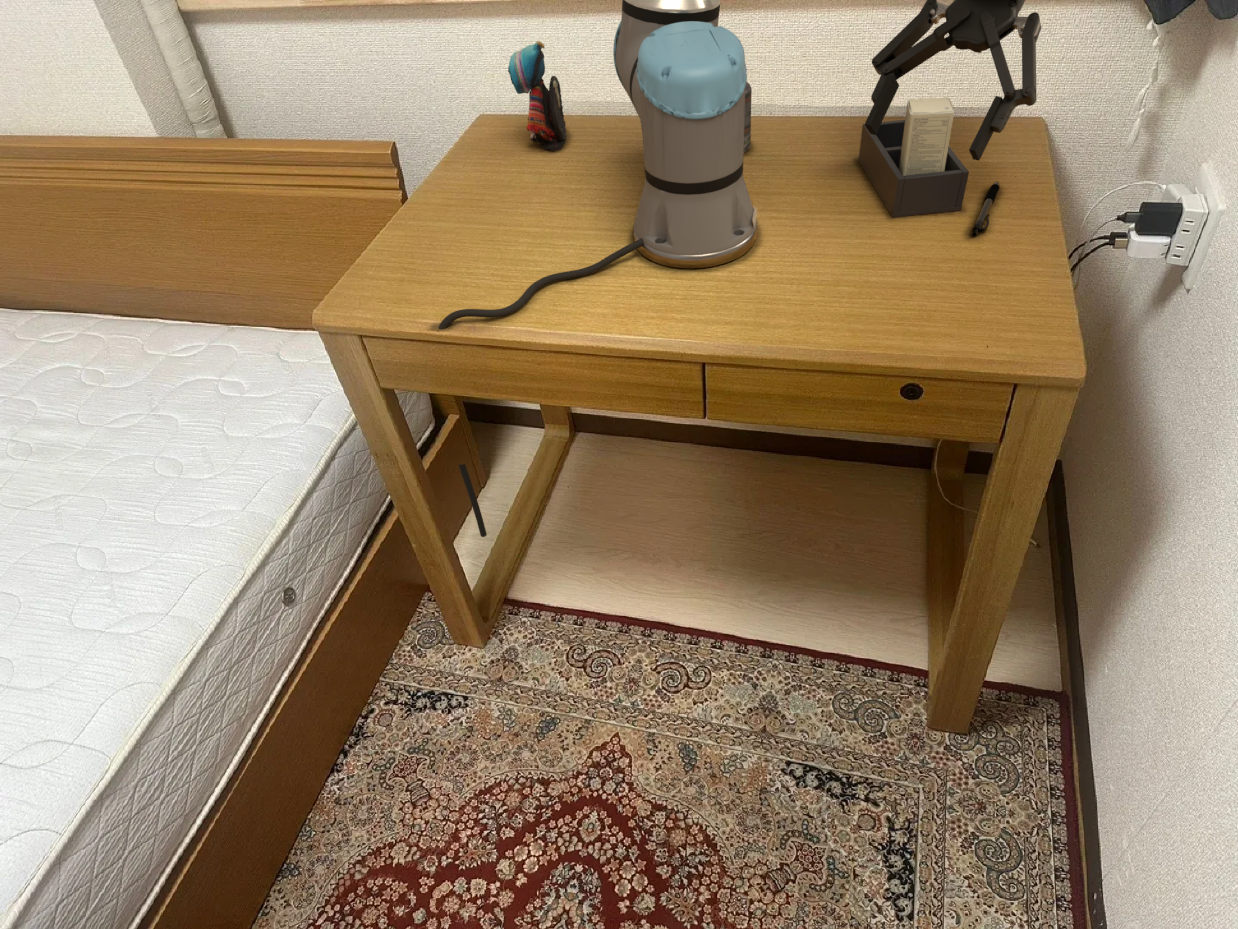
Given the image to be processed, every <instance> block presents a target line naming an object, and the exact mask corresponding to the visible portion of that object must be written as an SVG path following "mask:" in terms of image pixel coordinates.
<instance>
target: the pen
mask: <svg viewBox="0 0 1238 929" xmlns="http://www.w3.org/2000/svg"><path fill="white" fill-rule="evenodd" d="M999 191H1000V182H999V181H997V180H996V181H995V182H994V183H993V184H991V185H990V187H989V190H988V192H987V194H986V195H985V198H984V202H983V204H982V207H981V209H980V211H979V214H978V216H977V218H976V220H975V222H974V224H973V226H972V229H971V232H972V233H971V236H972V237H976V236H978V234H980V233H981V234H982V233H984V232H986V231H987V229H988V228H989V225H990V218H989V217H990V213H989V212H990V209H991V207H992V205H993V204H994V202H995V200H996V198H997V195H998V192H999ZM985 223H986V224H985ZM984 224H985V225H984ZM983 226H984V227H983Z"/></svg>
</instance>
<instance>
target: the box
mask: <svg viewBox="0 0 1238 929" xmlns="http://www.w3.org/2000/svg"><path fill="white" fill-rule="evenodd" d="M954 116H955V110H954V106H953V104H952V101H951V98H950V97H937V98H916V99H912V98H911V99H908V100H907V103H906V111H905V119H904V120H905V125H904V133H903V140H902V149H901V156H900V164H899V171H900V172H901V174H902V175H903V176H906V175H915V174H925V173H935V172H944V170H945V164H946V158H947V152H948V146H949V147H950V140H951V134H952V128H953V122H954Z"/></svg>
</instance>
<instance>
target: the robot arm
mask: <svg viewBox="0 0 1238 929" xmlns="http://www.w3.org/2000/svg"><path fill="white" fill-rule="evenodd" d="M721 1H722V0H621V18H620V22H619V23H618V26H617V28H616V31H615V35H614V39H613V64H614V69H615V74H616V75H617V78H618V80H619V82H620V83H621V86H622V87H623V90H624V91H625V92H626V94H627V96H628V98H629V100H630V102H631V104H632V105H633V107H634V110H635V111H636V114H637V116H638V118H639V120H640V125H641V126H640V127H641V134H642V137H641V138H642V151H643V166H644V167H643V168H644V185H643V189H642V192H641V196H640V200H639V204H638V207H637V211H636V215H635V218H634V223H633V238H634V239H633V240H634V241H633V242H631V243H630V244H627V245H625V246H624V247H621V248H619V249H618V250H616V251H614V252H612V253H611V254H609V255H607V256H606V257H604V258H602V259H601V260H599V261H597V262H595V263H593V264H592V265H589V266H585V267H582V268H578V269H574V270H567V271H562V272H557V273H553V274H549V275H546V276H544V277H541V278H539V279H537V280H536V281H534V282H533V283H532V284H531V285H530V286H528V287H527V289H525V291H524V292H523V293H522V295H521V296H520V297H519V298H518V299H517V300H516V301H515V302H513V303H511V304H510V305H507V306H505V307H502V308H497V309H486V308H485V309H482V308H464V309H458V310H455V311H453V312H451V313H449V314H448V315H446V316H445V317H444V318H443V319H442V320H441V322H440V323H439V325H438V328H437V329H438V330H446V329H447V328H448V327H449V326H450V325H451V324H452V323H454V322H455V321H456V320H459V319H462V318H471V317H473V318H501V317H505V316H508V315H511V314H513V313H516V312H517V311H518V310H520V309H521V308H522V307H524V306H525V305H526V304H527V303H528V302H529V300H530V299H531V297H533V295H534V294H535V293H536V292H537V291H539V290H540V289H541V288H543V287H544V286H546V285H549V284H551V283H552V284H553V283H554V282H559V281H563V280H565V281H566V280H570V279H575V278H581V277H585V276H588V275H590V274H594V273H596V272H598V271H600V270H602V269H604V268H605V267H607V266H610V264H612V263H614V262H616V261H618V260H619V259H622V257H624V256H626V255H629V254H630V253H632V252H634V251H636V250H638V252H639V253H640V254H641V255H642V256H643V257H644V258H646V259H648V260H650V261H652V262H654V263H657V264H659V265H663V266H666V267H670V268H671V267H672V268H677V269H702V268H710V267H716V266H720V265H723V264H727V263H729V262H732V261H734V260H737V259H738V258H740V257H741V256H743V255H745V254H746V253H747V252H749V250H751V248H752V247H753V246H754V244H755V243H756V240H757V236H758V235H757V234H758V219H757V216H758V210H757V207H756V206H754V205H753V203H752V199H751V195H750V194H749V190H748V187H747V184H746V180H745V179H744V154H745V153H744V113H745V87H746V82H748V74H747V72H748V69H747V65H746V54H745V48H744V46H743V43H742V42H741V40H740V39H739V37H738V36H737V35H736V34H735V33H734V32H733V31H731V30H730V29H728V28H726V27H724V26H722V25H719V20H720V19H719V18H720V9H721ZM1025 2H1026V0H953V1H952V2H951V3H950V4H949V5H948V4H944V3H941V2H938V0H926V1H925V3H924V4H923V6H922V8H921V9H920V11H919V12H918V13H917V15H916V16H915V17H914V18H912V20H911V21H909V23H908V24H906V25H905V27H903V28H902V29H901V30H900V31H899V32H898V33H897V34H896V35H895V36H894V37H893V38H892V39H891V40H889V42H888V43H887V44H886V45H885V46H884V47H882V49H880V51H879V52H878V53H877V54H876V55H875V56H874V57H873V58H872V59H871V65H872V67H873V68H874V70H875V72H876V73H877V75H879V76H880V77H879V78H878V80H877V83H876V85H875V87H874V89H873V91H872V93H871V96H870V99H871V101H872V103H873V105H872V107H871V110H870V112H869V113H868V116H867V118H866V120H865V122H864V123H863V124H864V125H865V126H866V128H867V129H868V131H869V132H870V134H873V135H876V133H877V131H878V129H879V127H880V125H881V123H882V122H884V119H885V117H886V115H887V113H888V111H889V109H890V107H891V104H892V102H893V100H894V98H895V95H896V94H897V92H898V89H899V88H900V84H899V82H898V79H899V80H900V78H902V77H903V76H905V75H907V74H908V73H909V72H911V71H913V70H914V69H916V68H918V67H919V66H920V65H922V64H923V63H925V62H926V61H929V59H932V57H934V56H936V55H938V54H939V53H940V52H946V51H947V50H949V49H950V48H952V47H953V46H954V47H955V49H956V50H959V51H960V50H961V51H965V50H970V51H971V52H974V53H979V54H982V52H984V51H988V50H989V51H990V54H991V57H992V61H993V63H994V67H995V70H996V73H997V76H998V80H999V83H1000V86H1001V90H1002V93H1003V97H1002V96H998V95H995V97H994V98H993V101H992V102H991V105H990V106H989V108H988V111H987V112H986V114H985V117H984V118H983V121H982V123H981V125H980V126H979V128H978V131H977V133H976V135H975V137H974V139H973V141H972V143H971V145H970V147H969V149H968V151H969V154H970V155H971V158H972V160H974V161H978V162H980V161H981V158H982V156H983V154H984V153H985V150H986V148H987V146H988V144H989V142H990V140H991V139H992V136H993V134H994V133H998V134H1000V133H1001V132H1003V130H1004V129H1005V128H1006V125H1007V123H1008V121H1009V119H1010V117H1011V116H1012V113H1013V111H1014V110H1015V109H1016V108H1017V107H1018V106H1022V105H1026V106H1028V107H1031V106H1034V105H1035V104H1036V103H1037V42H1038V39H1039V36H1040V33H1041V30H1042V22H1041V19H1040V18H1041V17H1040V13H1039V12H1036V11H1034V12H1031V13H1029V14H1028V15H1027V16H1019V13H1020V12H1021V10H1022V8H1023V6H1024V4H1025ZM943 18H945V21H944V22H943V23H941V24H939V22H940V21H941V20H942V19H943ZM937 24H939V25H937ZM934 25H937V27H936V28H934V30H933V31H932V33H931V34H929V35H928V36H926V37H925V38H923V37H924V36H925V34H927V33H928V32H929V31H930V30H931V29H932V27H933V26H934ZM1015 30H1017V34H1018V37H1019V39H1021V88H1017V89H1016V88H1015V85H1014V82H1013V78H1012V75H1011V72H1010V69H1009V66H1008V62H1007V60H1006V56H1005V53H1004V50H1003V47H1002V44H1001V41H1002V40H1003V39H1005V38H1006V37H1008V36H1009V35H1010V34H1011V33H1013V32H1014V31H1015ZM946 35H948V36H946ZM458 469H459V472H460V474H461V477H462V479H463V480H462V481H463V483H464V486H465V490H466V491H467V495H468V498H469V501H470V504H471V507H472V510H473V513H474V517H475V520H476V524H477V528H478V531H479V535H480V537H481V538H485V537H487V535H488V534H487V529H486V526H485V522H484V519H483V515H482V512H481V508H480V505H479V502H478V499H477V496H476V495H477V494H476V492H475V489H474V486H473V484H472V480H471V477H470V474H469V471H468V468H467V465H466V463H464V464H463V463H462V464H458Z"/></svg>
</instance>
